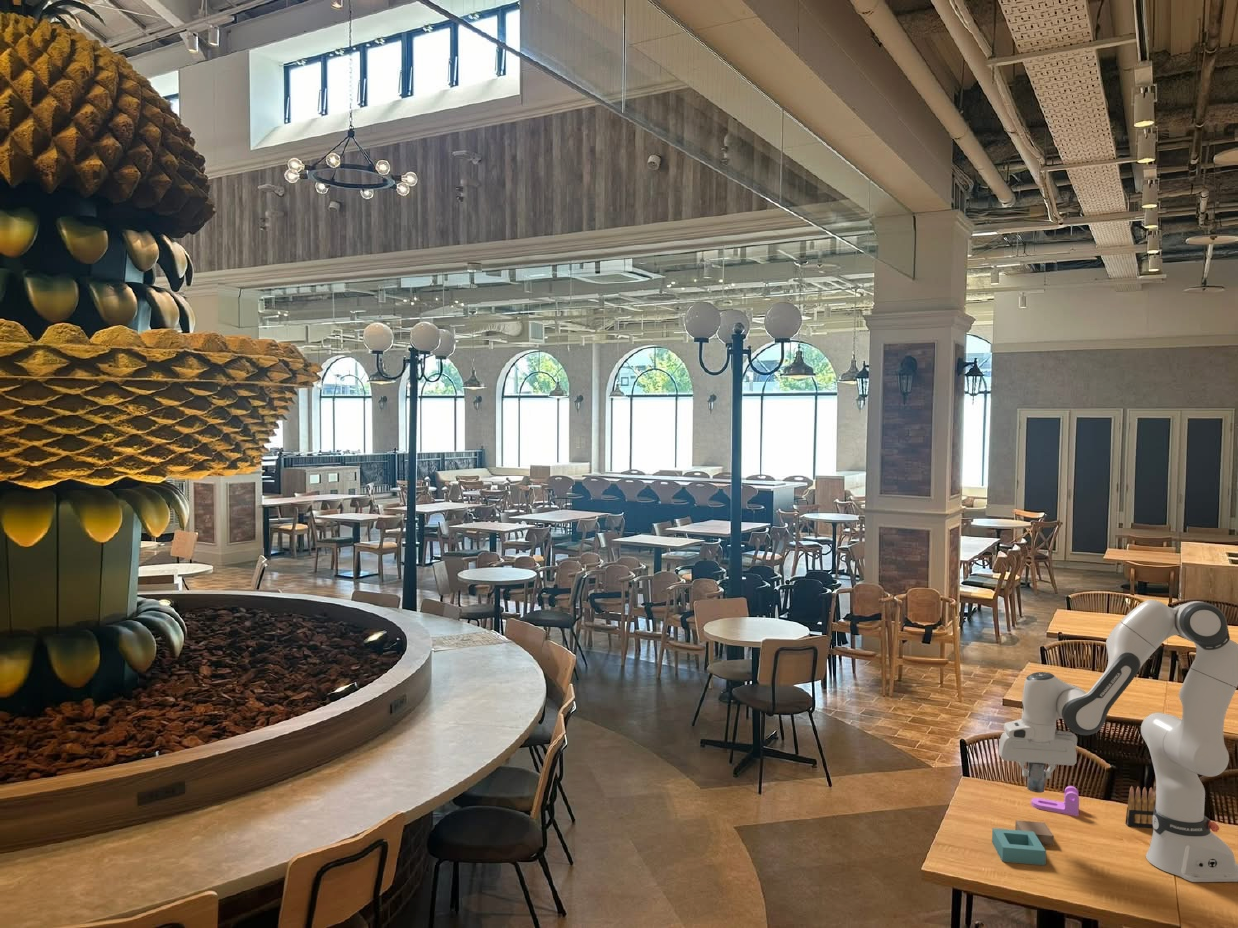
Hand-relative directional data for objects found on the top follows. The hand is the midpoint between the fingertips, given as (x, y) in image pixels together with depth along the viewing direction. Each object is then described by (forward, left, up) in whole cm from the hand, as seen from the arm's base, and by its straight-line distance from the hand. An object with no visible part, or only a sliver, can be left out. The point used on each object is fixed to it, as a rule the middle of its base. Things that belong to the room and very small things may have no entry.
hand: (1036, 776), depth 251 cm
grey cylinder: (0, 0, -4) cm, 4 cm away
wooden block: (0, 0, -18) cm, 18 cm away
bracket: (-12, -21, -18) cm, 31 cm away
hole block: (+7, +10, -18) cm, 22 cm away
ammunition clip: (-35, -14, -18) cm, 42 cm away
